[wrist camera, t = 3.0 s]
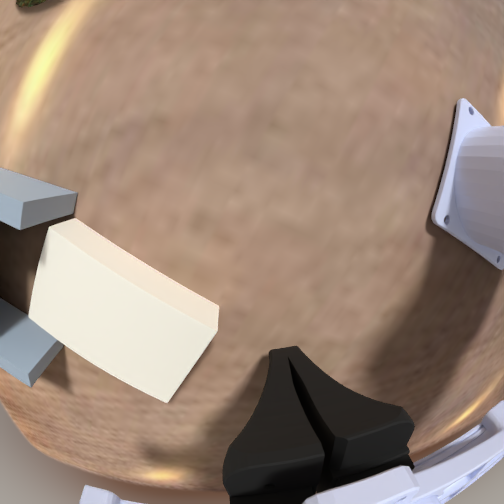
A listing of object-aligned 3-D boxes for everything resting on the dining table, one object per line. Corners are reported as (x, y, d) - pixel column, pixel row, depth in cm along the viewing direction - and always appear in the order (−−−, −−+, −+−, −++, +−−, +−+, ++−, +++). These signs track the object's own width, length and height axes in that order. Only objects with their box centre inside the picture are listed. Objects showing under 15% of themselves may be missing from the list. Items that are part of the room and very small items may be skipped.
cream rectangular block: (219, 302, 13) (217, 331, 10) (174, 370, 14) (167, 403, 11) (78, 216, 11) (49, 226, 9) (53, 296, 12) (28, 317, 9)
